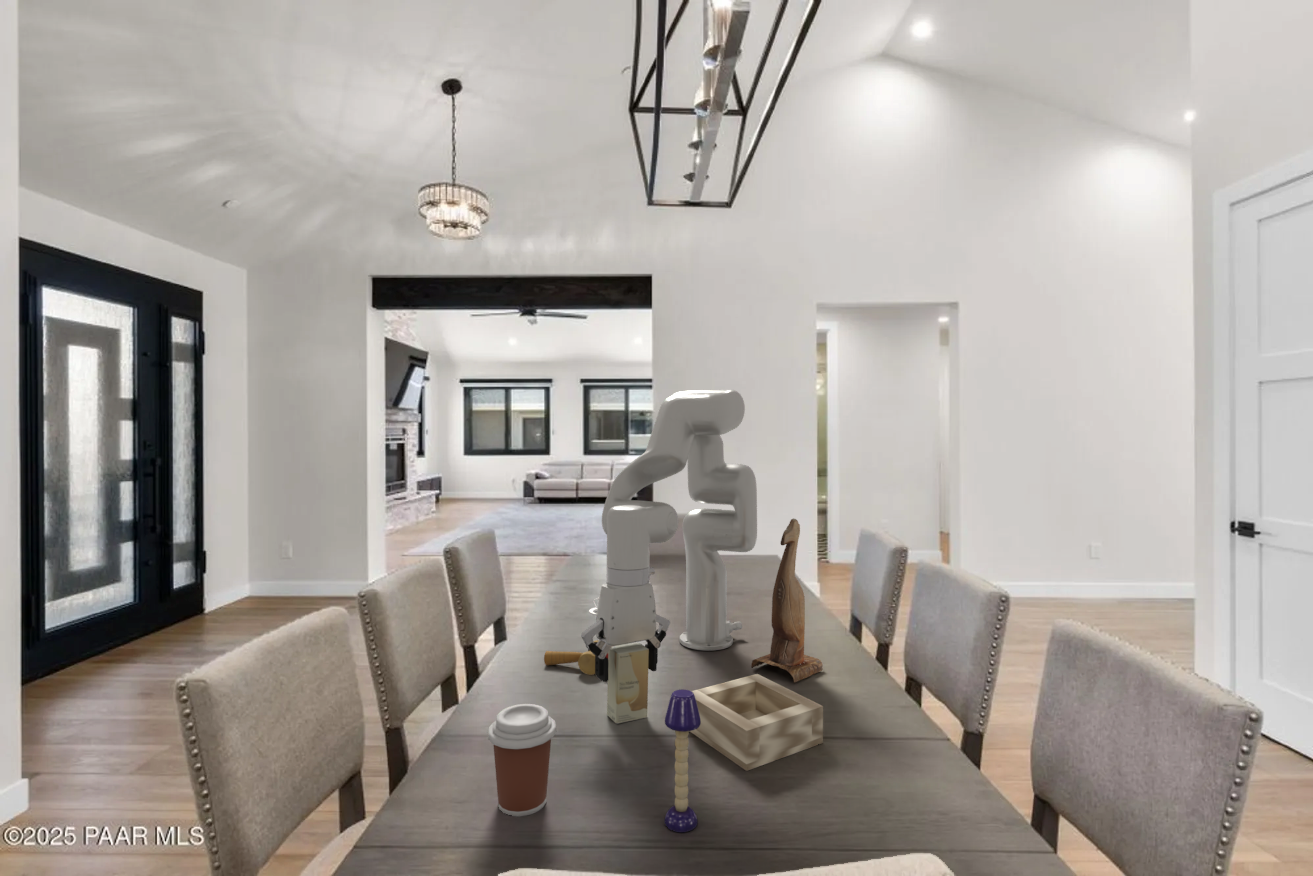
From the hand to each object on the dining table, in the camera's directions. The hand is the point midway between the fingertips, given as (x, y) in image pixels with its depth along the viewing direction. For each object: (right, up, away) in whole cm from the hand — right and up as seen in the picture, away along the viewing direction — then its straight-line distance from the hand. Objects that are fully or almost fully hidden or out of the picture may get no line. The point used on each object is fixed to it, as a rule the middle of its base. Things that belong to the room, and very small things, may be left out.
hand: (626, 674), depth 113 cm
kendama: (-10, -8, +23) cm, 26 cm away
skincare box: (0, -8, 0) cm, 8 cm away
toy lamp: (+9, -8, -30) cm, 32 cm away
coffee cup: (-13, -8, -26) cm, 30 cm away
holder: (+21, -8, -6) cm, 23 cm away
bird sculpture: (+33, -8, +22) cm, 40 cm away
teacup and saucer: (-8, -7, +62) cm, 63 cm away
